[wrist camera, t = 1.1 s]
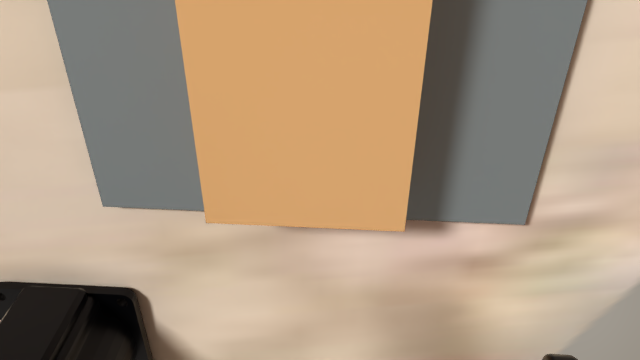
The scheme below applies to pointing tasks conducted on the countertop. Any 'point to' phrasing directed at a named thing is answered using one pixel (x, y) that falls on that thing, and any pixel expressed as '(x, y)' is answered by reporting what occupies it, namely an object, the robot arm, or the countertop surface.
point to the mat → (433, 121)
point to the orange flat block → (305, 108)
